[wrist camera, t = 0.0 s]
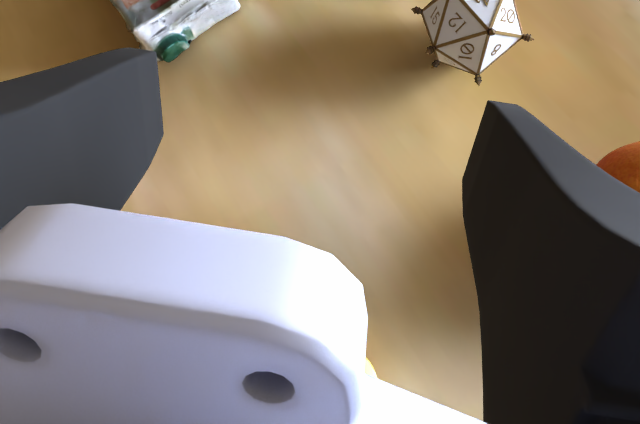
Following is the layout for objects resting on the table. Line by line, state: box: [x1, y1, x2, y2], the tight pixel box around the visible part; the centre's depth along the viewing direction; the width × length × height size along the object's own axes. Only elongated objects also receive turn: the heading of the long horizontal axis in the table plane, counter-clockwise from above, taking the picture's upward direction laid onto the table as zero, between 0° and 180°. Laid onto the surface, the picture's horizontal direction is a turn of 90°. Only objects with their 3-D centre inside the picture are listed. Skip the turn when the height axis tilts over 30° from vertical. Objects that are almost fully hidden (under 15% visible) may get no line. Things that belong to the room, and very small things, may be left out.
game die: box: [412, 0, 534, 85], centre depth 43 cm, size 9×8×10 cm
